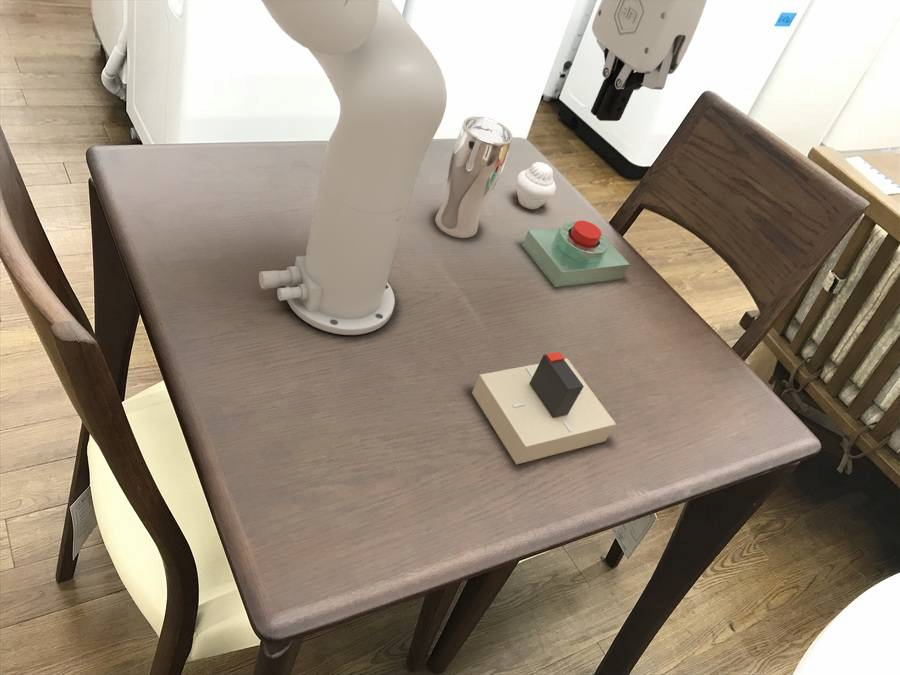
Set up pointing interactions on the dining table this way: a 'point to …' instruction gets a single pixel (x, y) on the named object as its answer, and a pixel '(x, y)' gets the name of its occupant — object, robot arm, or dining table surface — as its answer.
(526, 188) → the muffin
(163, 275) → the dining table surface
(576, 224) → the button
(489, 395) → the dial panel
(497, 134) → the beer glass
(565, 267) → the housing
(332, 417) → the dining table surface
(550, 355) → the knob
